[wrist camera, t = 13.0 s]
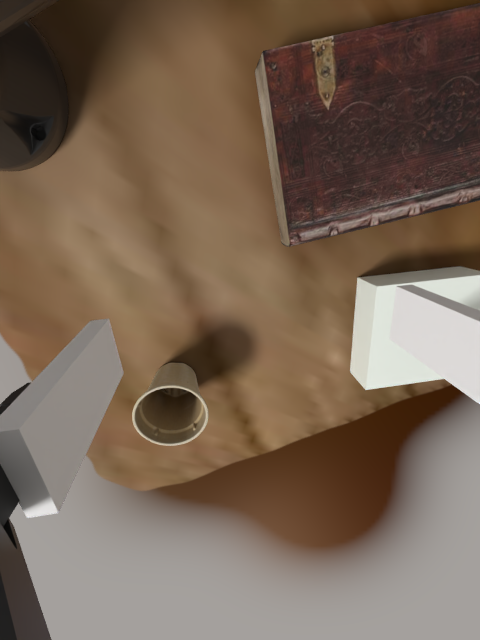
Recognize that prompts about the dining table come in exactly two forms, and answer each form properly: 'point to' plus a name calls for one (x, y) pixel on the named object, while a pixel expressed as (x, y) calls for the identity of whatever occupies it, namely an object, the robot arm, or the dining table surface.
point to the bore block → (376, 317)
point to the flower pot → (171, 407)
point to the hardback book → (373, 124)
